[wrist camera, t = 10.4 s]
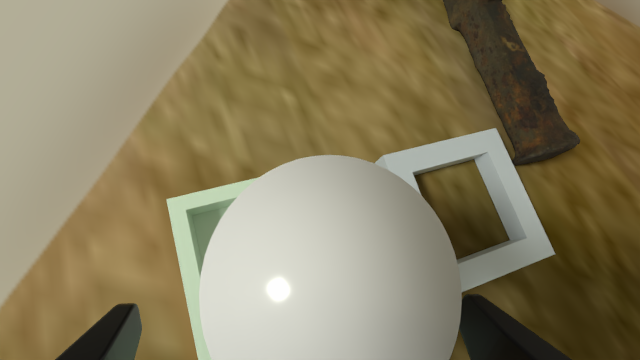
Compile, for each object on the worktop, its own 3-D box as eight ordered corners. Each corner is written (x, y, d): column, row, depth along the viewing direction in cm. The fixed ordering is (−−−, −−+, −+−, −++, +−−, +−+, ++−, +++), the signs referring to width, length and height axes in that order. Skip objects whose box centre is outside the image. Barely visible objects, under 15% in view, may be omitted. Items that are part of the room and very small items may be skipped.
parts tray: (387, 338, 19) (406, 347, 16) (219, 409, 16) (212, 433, 14) (332, 170, 21) (342, 157, 19) (177, 208, 18) (166, 199, 16)
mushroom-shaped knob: (346, 277, 18) (506, 287, 7) (279, 345, 17) (335, 523, 5) (289, 211, 19) (344, 112, 7) (218, 271, 17) (135, 270, 5)
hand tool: (545, 162, 25) (605, 139, 21) (506, 171, 24) (562, 149, 20) (462, -19, 30) (498, -70, 25) (426, -19, 29) (457, -71, 24)
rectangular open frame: (536, 255, 22) (555, 254, 21) (424, 300, 20) (437, 302, 18) (482, 136, 24) (495, 128, 23) (374, 162, 22) (382, 155, 20)
